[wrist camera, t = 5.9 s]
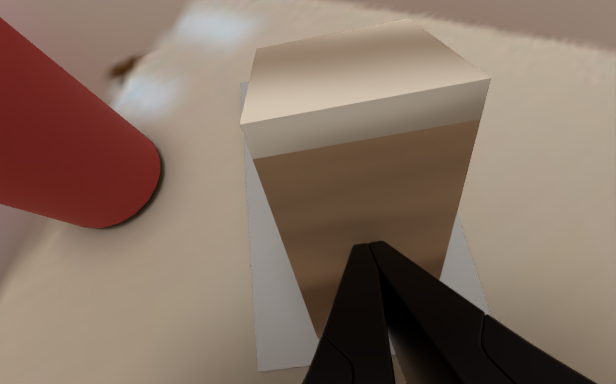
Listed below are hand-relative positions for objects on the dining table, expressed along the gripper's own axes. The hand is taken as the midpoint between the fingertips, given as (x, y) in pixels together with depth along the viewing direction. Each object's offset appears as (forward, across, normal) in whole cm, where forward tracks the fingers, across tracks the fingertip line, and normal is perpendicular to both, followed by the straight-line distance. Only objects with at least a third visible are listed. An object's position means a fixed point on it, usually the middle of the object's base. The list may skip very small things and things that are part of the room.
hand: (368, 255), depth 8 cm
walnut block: (+4, 0, +4) cm, 6 cm away
